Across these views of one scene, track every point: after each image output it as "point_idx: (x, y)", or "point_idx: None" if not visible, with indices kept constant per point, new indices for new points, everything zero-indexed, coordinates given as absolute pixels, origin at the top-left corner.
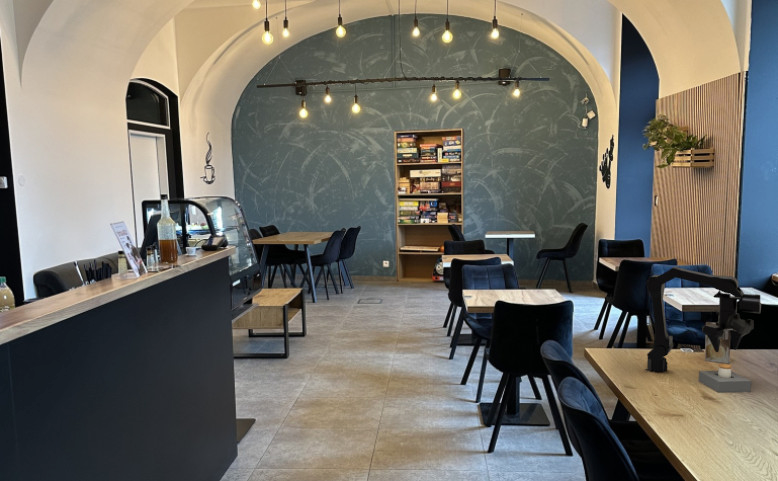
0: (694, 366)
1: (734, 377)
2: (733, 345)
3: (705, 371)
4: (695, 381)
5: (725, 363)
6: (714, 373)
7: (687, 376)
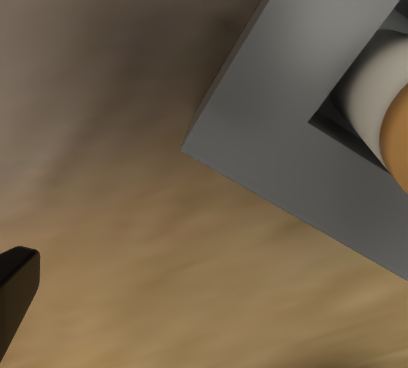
0: (72, 351)
1: (392, 8)
2: (2, 341)
3: (388, 254)
4: (339, 253)
5: (395, 165)
6: (394, 188)
7: (277, 311)
